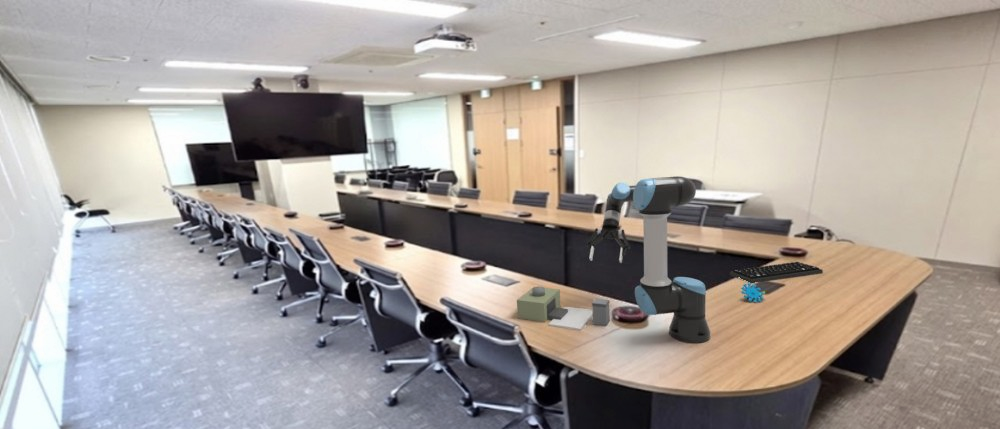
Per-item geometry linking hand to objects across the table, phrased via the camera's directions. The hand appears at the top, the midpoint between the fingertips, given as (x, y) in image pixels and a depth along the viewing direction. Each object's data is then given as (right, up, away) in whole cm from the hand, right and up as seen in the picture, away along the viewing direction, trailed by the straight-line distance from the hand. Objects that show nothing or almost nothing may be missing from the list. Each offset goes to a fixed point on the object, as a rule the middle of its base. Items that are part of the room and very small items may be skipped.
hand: (605, 260), depth 191 cm
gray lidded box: (-3, -27, -5) cm, 28 cm away
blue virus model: (+73, -20, +8) cm, 76 cm away
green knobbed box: (-22, -27, +6) cm, 35 cm away
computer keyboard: (+107, -13, +42) cm, 115 cm away
